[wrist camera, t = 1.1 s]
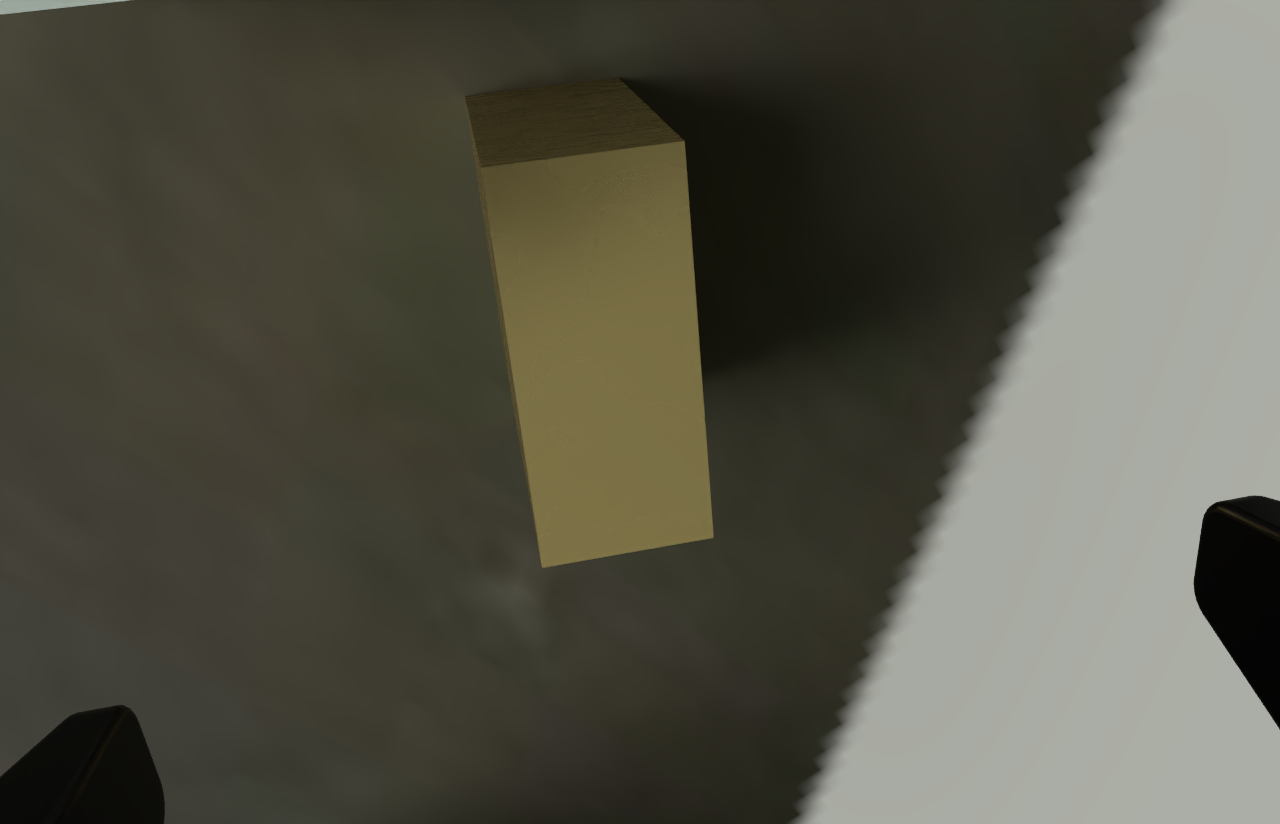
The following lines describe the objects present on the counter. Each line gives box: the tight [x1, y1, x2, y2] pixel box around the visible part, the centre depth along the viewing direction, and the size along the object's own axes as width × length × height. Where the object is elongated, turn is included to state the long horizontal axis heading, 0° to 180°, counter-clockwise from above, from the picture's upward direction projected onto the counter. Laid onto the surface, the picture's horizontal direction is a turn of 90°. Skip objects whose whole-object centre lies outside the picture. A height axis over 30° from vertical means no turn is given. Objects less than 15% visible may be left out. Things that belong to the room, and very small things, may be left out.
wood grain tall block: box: [465, 77, 714, 568], centre depth 16 cm, size 6×2×5 cm, turn 5°
